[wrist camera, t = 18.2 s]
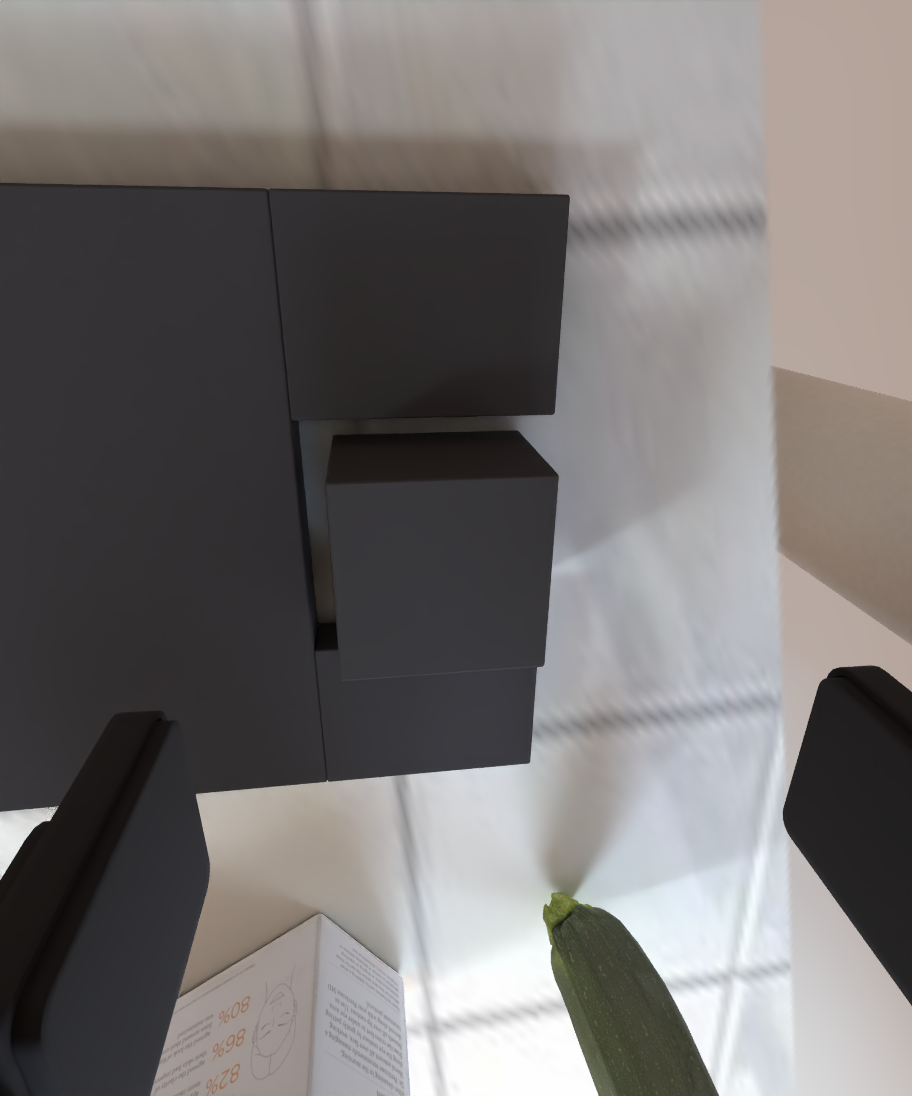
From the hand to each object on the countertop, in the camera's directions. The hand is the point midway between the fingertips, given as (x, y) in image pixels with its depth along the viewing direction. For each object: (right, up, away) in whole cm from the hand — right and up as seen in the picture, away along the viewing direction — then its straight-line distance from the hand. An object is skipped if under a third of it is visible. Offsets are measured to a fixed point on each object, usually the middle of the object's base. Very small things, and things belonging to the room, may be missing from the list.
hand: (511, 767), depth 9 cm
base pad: (-8, +4, +8) cm, 12 cm away
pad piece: (-2, +4, +9) cm, 10 cm away
